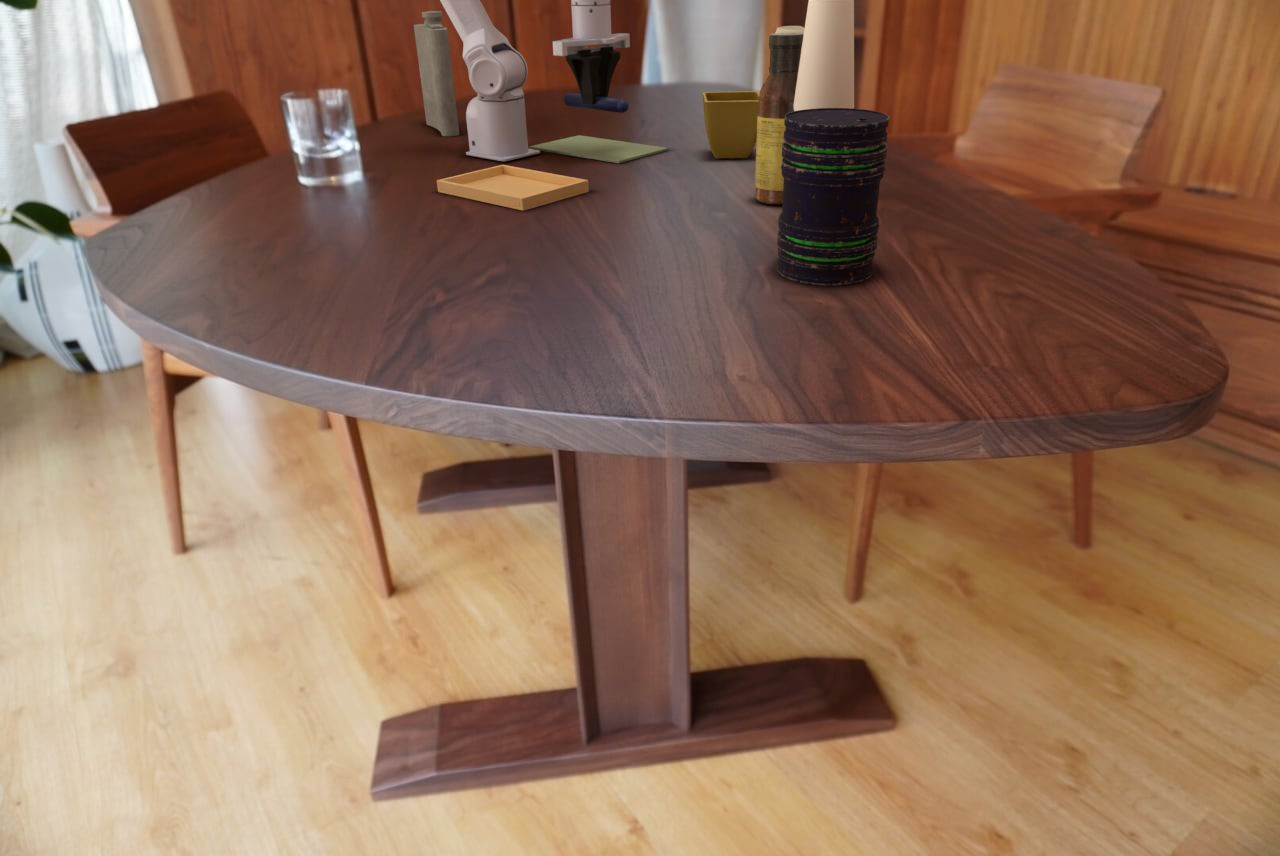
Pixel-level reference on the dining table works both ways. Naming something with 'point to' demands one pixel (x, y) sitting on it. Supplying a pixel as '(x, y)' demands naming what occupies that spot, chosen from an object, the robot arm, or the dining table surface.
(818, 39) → the cream tapered cone
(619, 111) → the pen
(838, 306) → the dining table surface
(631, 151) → the mat
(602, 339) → the dining table surface
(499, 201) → the tray
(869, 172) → the black cylinder
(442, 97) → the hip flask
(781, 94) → the sauce bottle
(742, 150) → the flower pot
